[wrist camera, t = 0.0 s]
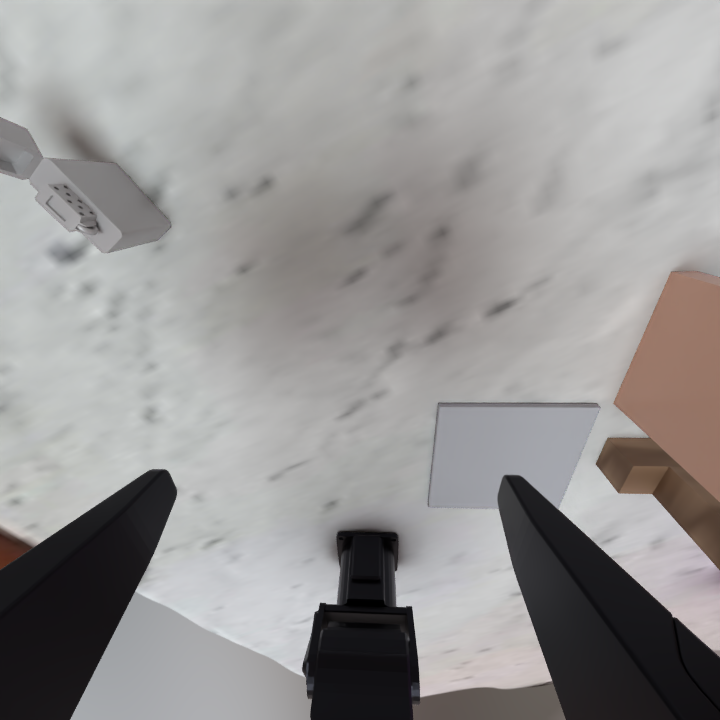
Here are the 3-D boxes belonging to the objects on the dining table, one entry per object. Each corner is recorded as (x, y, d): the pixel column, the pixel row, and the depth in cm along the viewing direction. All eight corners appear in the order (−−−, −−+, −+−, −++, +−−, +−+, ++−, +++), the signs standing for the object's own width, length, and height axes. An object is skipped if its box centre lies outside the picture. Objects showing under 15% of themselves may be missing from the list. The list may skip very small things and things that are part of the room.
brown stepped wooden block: (693, 464, 27) (845, 599, 18) (595, 463, 27) (697, 594, 19) (711, 438, 25) (885, 571, 17) (607, 437, 26) (724, 566, 17)
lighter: (173, 224, 19) (57, 247, 13) (155, 242, 20) (37, 273, 13) (65, 107, 17) (-155, 54, 10) (49, 131, 17) (-171, 96, 10)
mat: (555, 505, 30) (557, 510, 30) (427, 502, 31) (428, 507, 30) (596, 403, 24) (600, 407, 24) (438, 403, 25) (439, 407, 25)
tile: (636, 403, 24) (760, 508, 16) (613, 403, 24) (725, 507, 16) (699, 270, 19) (920, 330, 12) (670, 271, 19) (869, 330, 12)
